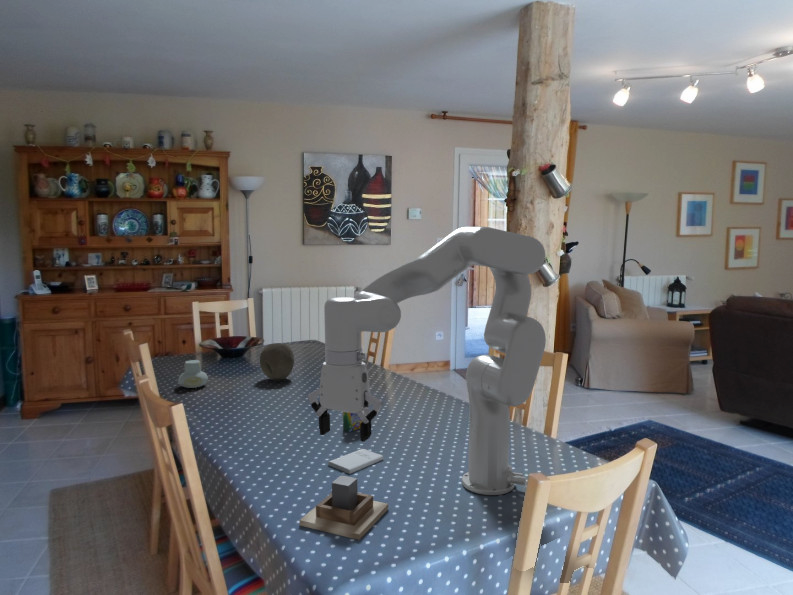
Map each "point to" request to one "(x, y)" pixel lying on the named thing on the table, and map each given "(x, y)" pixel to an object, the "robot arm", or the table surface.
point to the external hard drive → (355, 461)
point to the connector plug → (344, 493)
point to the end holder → (345, 517)
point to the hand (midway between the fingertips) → (344, 436)
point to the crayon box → (351, 421)
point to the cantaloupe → (277, 361)
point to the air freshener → (192, 375)
